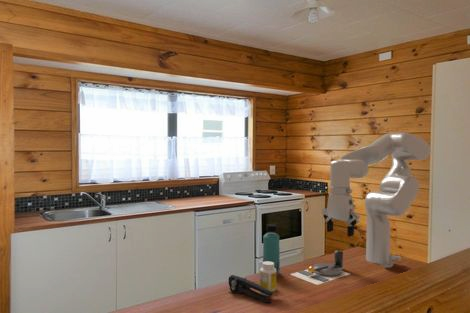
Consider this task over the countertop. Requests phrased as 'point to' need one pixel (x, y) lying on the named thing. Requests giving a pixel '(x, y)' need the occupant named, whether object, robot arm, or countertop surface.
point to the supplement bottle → (268, 276)
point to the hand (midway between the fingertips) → (340, 233)
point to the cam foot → (329, 266)
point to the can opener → (248, 288)
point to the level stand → (316, 277)
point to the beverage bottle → (271, 247)
